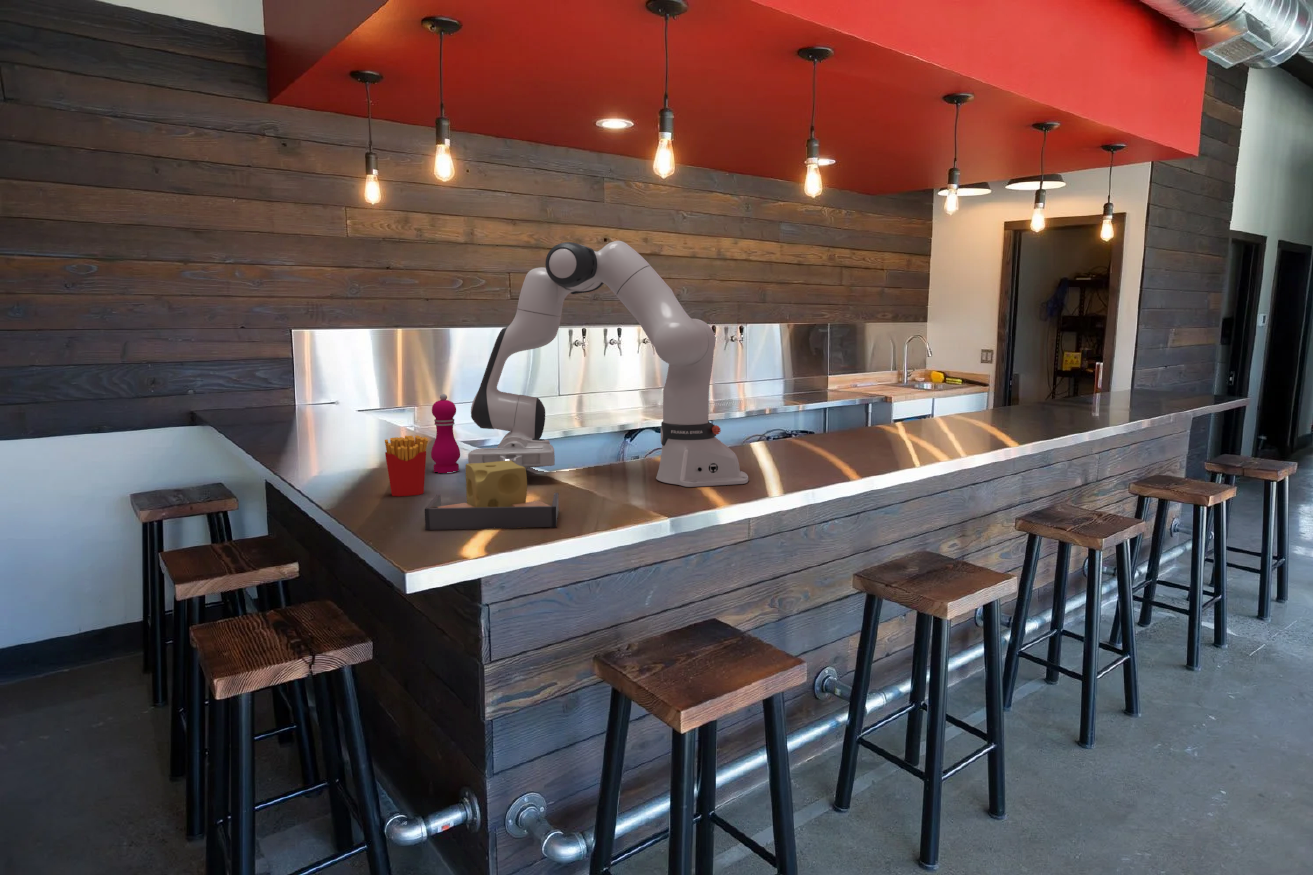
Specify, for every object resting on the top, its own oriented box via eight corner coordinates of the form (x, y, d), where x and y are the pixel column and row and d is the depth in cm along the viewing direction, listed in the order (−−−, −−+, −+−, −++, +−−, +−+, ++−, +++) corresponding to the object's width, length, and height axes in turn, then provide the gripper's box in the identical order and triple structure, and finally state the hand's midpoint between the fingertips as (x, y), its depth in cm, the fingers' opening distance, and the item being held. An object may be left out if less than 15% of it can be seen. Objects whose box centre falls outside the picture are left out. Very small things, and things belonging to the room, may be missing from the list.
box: (558, 511, 163) (558, 492, 162) (556, 527, 151) (555, 506, 151) (437, 513, 161) (436, 494, 160) (425, 529, 149) (424, 509, 148)
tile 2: (539, 514, 162) (539, 500, 161) (552, 521, 157) (552, 506, 156) (512, 519, 158) (511, 504, 158) (524, 525, 153) (524, 510, 153)
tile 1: (478, 523, 155) (477, 508, 154) (448, 528, 151) (448, 513, 151) (466, 517, 160) (465, 502, 159) (437, 521, 156) (436, 506, 156)
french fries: (387, 497, 175) (384, 439, 173) (386, 493, 179) (383, 436, 177) (430, 494, 178) (428, 436, 176) (428, 490, 182) (426, 434, 180)
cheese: (476, 521, 155) (474, 471, 154) (464, 509, 165) (463, 462, 164) (528, 516, 160) (527, 467, 158) (514, 504, 169) (512, 458, 168)
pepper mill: (453, 474, 199) (450, 395, 196) (426, 473, 201) (423, 394, 198) (465, 469, 206) (462, 392, 203) (439, 468, 208) (436, 392, 205)
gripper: (471, 441, 194) (462, 450, 181) (555, 439, 196) (553, 448, 182) (472, 466, 195) (463, 478, 182) (556, 464, 197) (553, 475, 183)
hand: (509, 463), depth 182 cm, fingers closed
